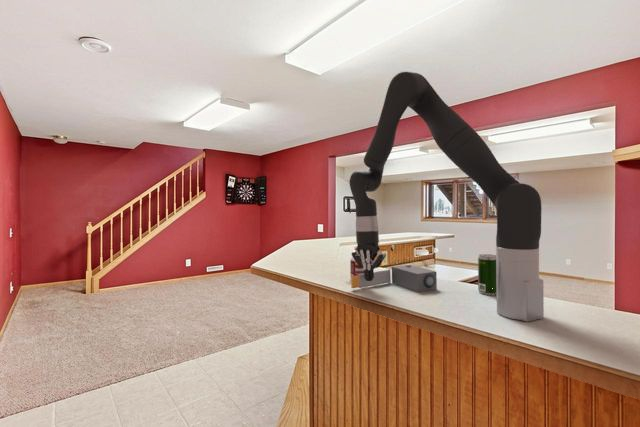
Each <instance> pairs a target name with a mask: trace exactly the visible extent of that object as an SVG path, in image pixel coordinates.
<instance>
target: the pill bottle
mask: <svg viewBox="0 0 640 427" xmlns="http://www.w3.org/2000/svg"><path fill="white" fill-rule="evenodd" d="M356 250H357V249H356ZM356 250H352V251H351V254H352V253H353V252H355V251H356ZM360 257H361V256H360ZM365 260H366V259H365ZM349 266H350V270H349V271H350V278H351V277H353V276H358V274H364V269H363V268H360V267H359V266H358V264H357V263H356V261H355V260H354V258H353V256H352V255H351V257H350V265H349Z"/></svg>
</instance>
